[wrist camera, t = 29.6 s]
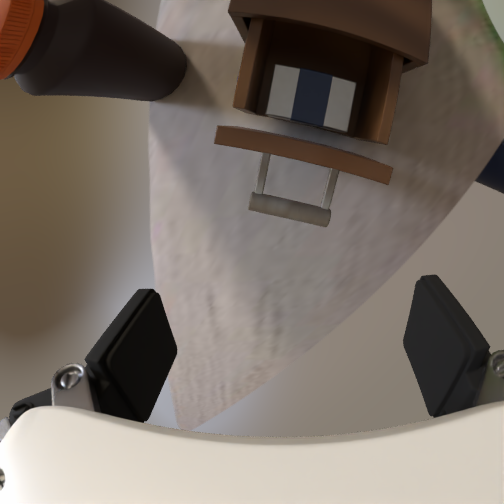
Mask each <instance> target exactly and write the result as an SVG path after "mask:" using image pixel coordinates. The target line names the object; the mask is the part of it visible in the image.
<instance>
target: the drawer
mask: <svg viewBox="0 0 504 504" xmlns="http://www.w3.org/2000/svg"><path fill="white" fill-rule="evenodd" d="M403 60H404V57H403V56H401V55H398V54H396V53H393V52H391V51H388V50H386V49H383V48H380V47H378V46H375V45H372V44H369V43H366V42H363V41H360V40H357V39H354V38H351V37H347V36H344V35H340V34H337V33H333V32H329V31H325V30H321V29H317V28H313V27H308V26H303V25H298V24H293V23H287V22H281V21H275V20H268V19H260V18H251V22H250V26H249V31H248V35H247V39H246V44H245V48H244V53H243V57H242V62H241V67H240V72H239V76H238V81H237V86H236V91H235V96H234V101H233V107H234V108H236V109H239V110H241V111H243V112H246V113H248V114H253V115H259V116H264V117H269V116H267V115H266V108H267V102H268V97H269V91H270V86H271V81H272V75H273V70H274V65H275V64H280V65H285V66H291V67H296V68H305V69H310V70H314V71H318V72H323V73H327V74H331V75H333V76H335V77H339V78H343V79H346V80H350V81H353V82H356V83H357V85H356V90H355V96H354V101H353V106H352V112H351V117H350V122H349V127H348V131H347V132H336V131H333V130H329V129H325V128H321V127H315V128H319V129H323V130H327V131H330V132H334V133H338V134H341V135H345V136H348V137H351V138H355V139H358V140H363V141H369V142H374V143H379V144H385V145H387V144H388V140H389V136H390V132H391V127H392V123H393V118H394V113H395V108H396V103H397V97H398V92H399V86H400V80H401V74H402V67H403ZM270 118H273V117H270ZM275 119H279V118H275ZM280 120H284V119H280ZM285 121H289V120H285ZM289 122H291V121H289ZM294 123H296V122H294ZM298 124H300V123H298ZM303 125H305V124H303ZM307 126H309V125H307ZM311 127H314V126H311ZM214 144H219V145H225V146H231V147H237V148H242V149H248V150H253V151H258V152H262V156H261V161H260V166H259V171H258V177H257V182H256V187H255V192H252V193H251V197H250V201H249V207H248V209H249V210H251V211H256V212H260V213H265V214H270V215H274V216H279V217H283V218H288V219H292V220H296V221H301V222H305V223H309V224H314V225H318V226H322V227H327V226H328V224H329V221H330V217H331V210H330V209H329V207H330V204H331V200H332V196H333V193H334V189H335V185H336V181H337V177H338V173H339V170H340V171H343V172H347V173H350V174H354V175H357V176H361V177H364V178H367V179H371V180H374V181H377V182H380V183H383V184H386V185H389V181H390V178H391V174H392V171H393V168H392V167H390V166H388V165H385V164H383V163H380V162H378V161H375V160H373V159H370V158H367V157H365V156H362V155H359V154H355V153H352V152H349V151H345V150H342V149H338V148H335V147H331V146H327V145H323V144H319V143H315V142H311V141H307V140H303V139H299V138H294V137H290V136H285V135H281V134H276V133H271V132H266V131H261V130H255V129H250V128H244V127H238V126H217V128H216V134H215V140H214ZM271 154H273V155H278V156H283V157H287V158H292V159H296V160H300V161H304V162H309V163H313V164H317V165H321V166H325V167H328V168H330V171H329V175H328V179H327V183H326V187H325V191H324V195H323V198H322V202H321V207H319V206H314V205H310V204H306V203H302V202H298V201H293V200H289V199H284V198H280V197H275V196H271V195H266V194H263V190H264V185H265V180H266V176H267V171H268V166H269V161H270V156H271Z"/></svg>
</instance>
